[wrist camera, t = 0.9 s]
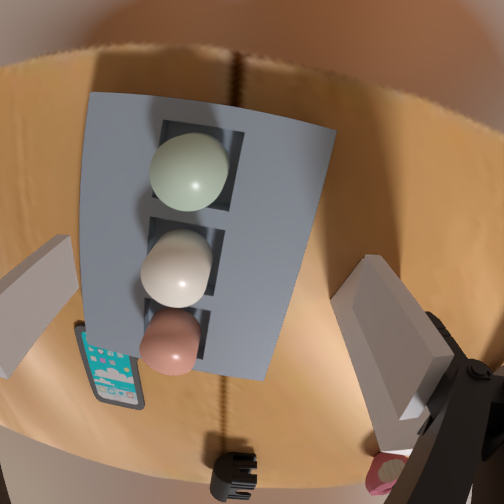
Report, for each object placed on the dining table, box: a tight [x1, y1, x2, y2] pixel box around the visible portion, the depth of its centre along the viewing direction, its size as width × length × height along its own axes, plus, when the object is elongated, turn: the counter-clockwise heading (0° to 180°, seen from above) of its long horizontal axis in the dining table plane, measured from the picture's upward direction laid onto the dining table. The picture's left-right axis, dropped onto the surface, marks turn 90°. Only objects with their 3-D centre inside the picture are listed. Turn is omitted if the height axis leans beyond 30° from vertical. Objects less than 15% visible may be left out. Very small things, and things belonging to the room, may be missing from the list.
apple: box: [365, 452, 408, 495], centre depth 44 cm, size 10×9×10 cm
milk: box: [330, 258, 430, 456], centre depth 23 cm, size 6×6×22 cm
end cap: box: [210, 452, 257, 502], centre depth 45 cm, size 10×7×7 cm
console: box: [80, 92, 337, 381], centre depth 29 cm, size 20×26×4 cm
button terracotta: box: [139, 307, 201, 376], centre depth 29 cm, size 5×5×4 cm
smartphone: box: [74, 324, 145, 410], centre depth 38 cm, size 9×1×15 cm
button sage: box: [149, 132, 230, 211], centre depth 22 cm, size 5×5×4 cm
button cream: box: [141, 228, 213, 308], centre depth 26 cm, size 5×5×4 cm
